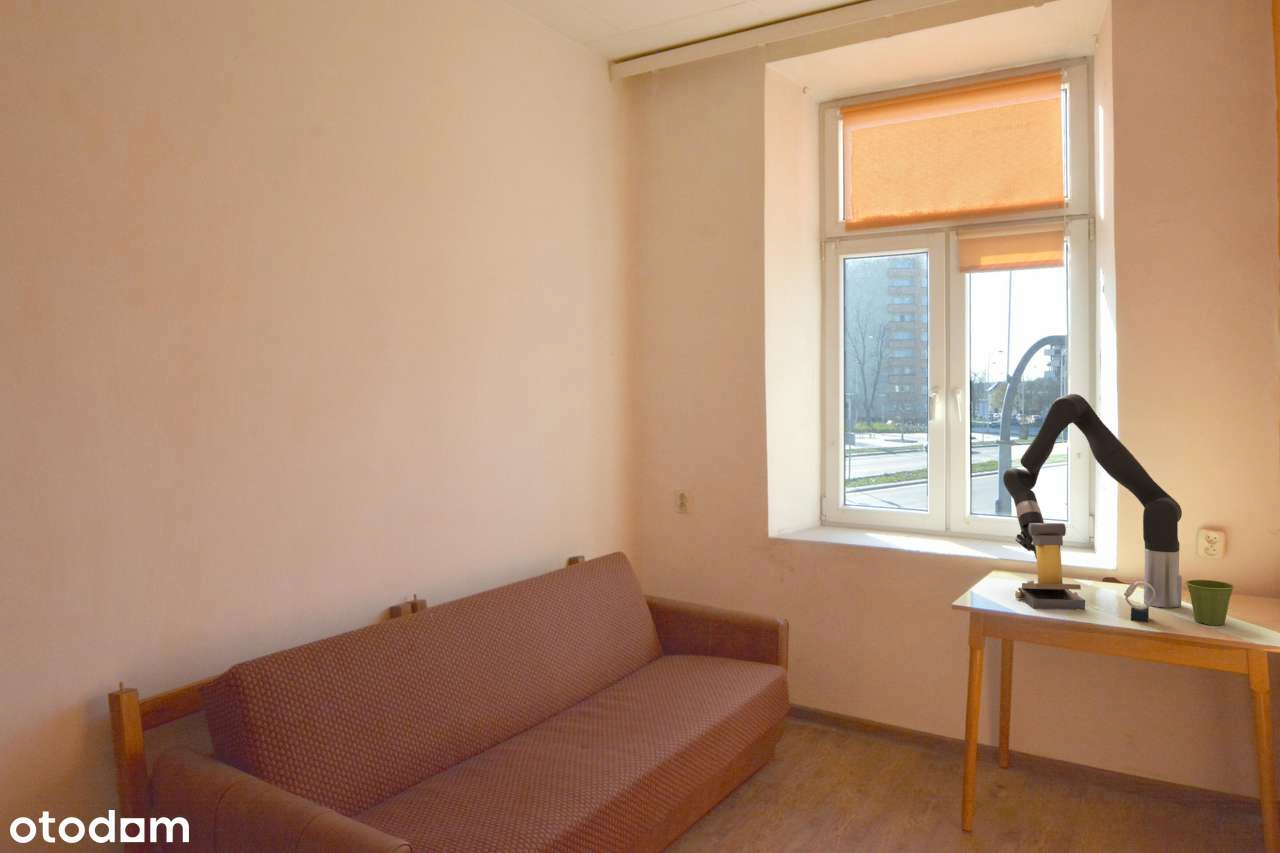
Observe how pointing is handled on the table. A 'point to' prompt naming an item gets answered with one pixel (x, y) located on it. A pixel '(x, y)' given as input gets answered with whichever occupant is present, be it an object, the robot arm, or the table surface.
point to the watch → (1137, 611)
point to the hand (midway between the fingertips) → (1041, 560)
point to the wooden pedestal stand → (1048, 556)
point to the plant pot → (1210, 600)
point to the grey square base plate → (1051, 598)
